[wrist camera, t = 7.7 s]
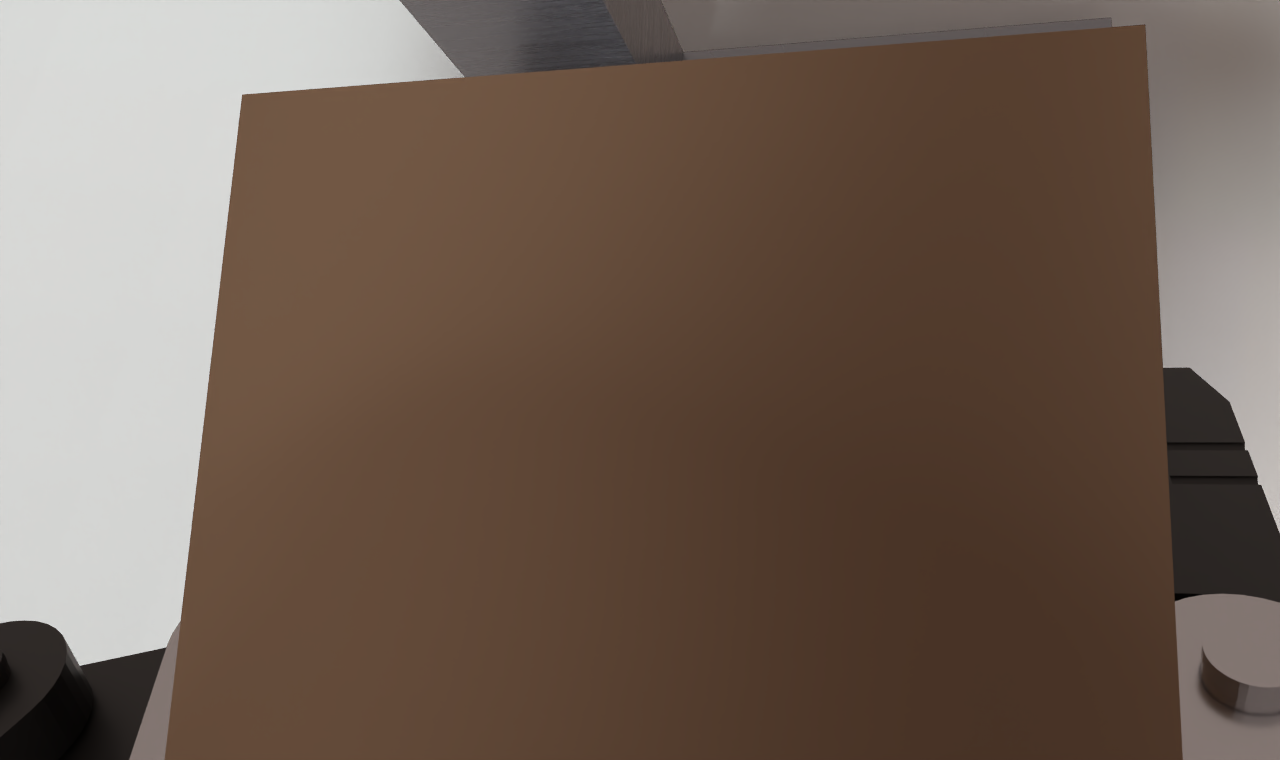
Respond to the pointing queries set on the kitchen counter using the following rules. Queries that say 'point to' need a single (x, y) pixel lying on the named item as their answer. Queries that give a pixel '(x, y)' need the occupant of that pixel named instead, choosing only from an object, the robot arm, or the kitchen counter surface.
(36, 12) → the kitchen counter surface
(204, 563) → the link block
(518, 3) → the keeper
